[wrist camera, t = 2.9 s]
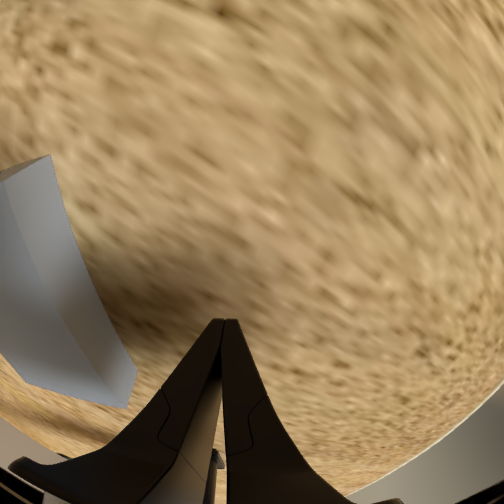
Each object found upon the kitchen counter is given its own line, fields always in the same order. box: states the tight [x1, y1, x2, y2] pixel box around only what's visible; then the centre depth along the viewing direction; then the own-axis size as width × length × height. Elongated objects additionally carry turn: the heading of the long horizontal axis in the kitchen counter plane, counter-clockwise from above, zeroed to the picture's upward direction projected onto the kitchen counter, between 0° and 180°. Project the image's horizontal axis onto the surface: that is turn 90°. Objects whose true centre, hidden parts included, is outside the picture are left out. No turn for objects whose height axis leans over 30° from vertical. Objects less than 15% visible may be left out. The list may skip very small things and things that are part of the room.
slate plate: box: [0, 154, 138, 409], centre depth 10 cm, size 12×8×3 cm, turn 3°
